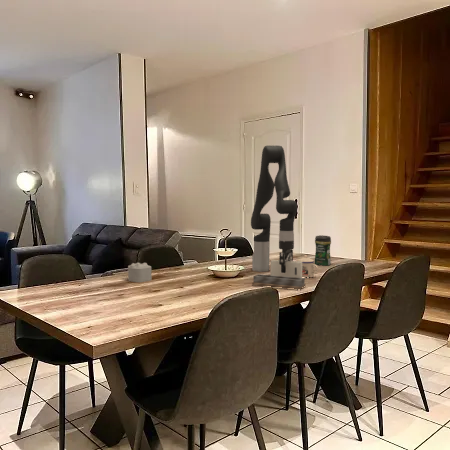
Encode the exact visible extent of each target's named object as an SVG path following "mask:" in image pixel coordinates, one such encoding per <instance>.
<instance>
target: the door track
mask: <svg viewBox="0 0 450 450" xmlns="http://www.w3.org/2000/svg"><path fill="white" fill-rule="evenodd" d="M305 279H306V278H296V277H284V276H273V275H271V274H261V273H258V274H256V275H254V276H253V282H251V283H252V285H251V286H252V287H261V288H264V287H263V286H271V287H282V288H294V289H301V288H302V287H304V286H305V287H306V283H305Z"/></svg>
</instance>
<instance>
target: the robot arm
mask: <svg viewBox="0 0 450 450" xmlns="http://www.w3.org/2000/svg"><path fill="white" fill-rule="evenodd" d="M270 164H277V165H278V170H277V173H276V175H275V178H274V179H273V177H272V175H271V174H270V169H269V168H270V167H269V166H270ZM259 172H260V173H259V178H258V183H257V188H256V196H255V201H254V205H253V206H254V207H253V210H252V214H251V219H250V227H251V228H252V230H256V231H258V230H262V231H261V232H260V233H258V234H256V235H253V254H252V255H251V256H252V258H251V261H252V262H251V263H252V266H251V268H252V269H251V270H252V271H253V272H259V273H260V272H265V273H266V272H270V254H271V253H270V252H271V251H270V240H271V239H270V238H271V225H272V224H271V222H272V221H271V219H272V218H271V216H270V214H269V213H261V212H262V211H263V209H264V207H265V206H266V205H267V204H268V203H269V202H270V201H271V199H272V198H273V196H274V191H275V194H276V201H275V202H276V204H275V210H276V212H277V214H280V215H287V216H286V217H284V218H281V219H280V220H279V230H278V231H279V232H278V249H279V250H281V252H279V255H278V256H279V258H278V259H279V264H280V265H281V273H285V272H286V262H287V261H294V248H295V232H294V229H295V228H294V227H295V225H294V224H295V219H296V216H297V215H296V214H297V211H298V203H297V201H296V200H294V199H286V198H288V197H290V195H291V190H290V185H289V182H288V177H287V165H286V155H285V150H284V148H283V146H282V145H265V146H263V149H262V153H261V160H260V171H259Z"/></svg>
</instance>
